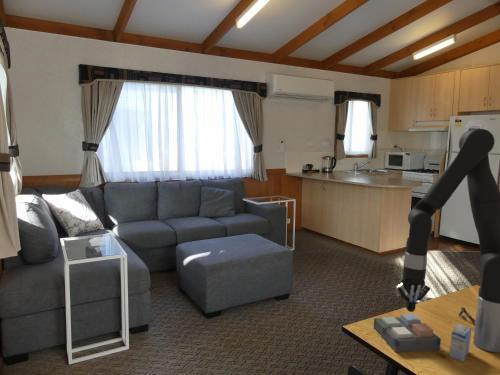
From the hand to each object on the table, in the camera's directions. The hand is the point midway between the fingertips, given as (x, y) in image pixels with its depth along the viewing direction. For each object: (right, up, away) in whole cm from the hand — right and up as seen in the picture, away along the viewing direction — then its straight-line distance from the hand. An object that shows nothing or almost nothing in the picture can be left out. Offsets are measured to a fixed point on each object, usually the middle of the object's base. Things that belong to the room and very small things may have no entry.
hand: (410, 310), depth 141 cm
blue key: (0, -5, 0) cm, 5 cm away
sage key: (-7, -5, -1) cm, 9 cm away
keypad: (-3, -9, -3) cm, 10 cm away
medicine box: (+11, -11, -12) cm, 20 cm away
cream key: (-6, -6, -8) cm, 12 cm away
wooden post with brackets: (+27, -8, +11) cm, 31 cm away
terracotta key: (+1, -6, -7) cm, 9 cm away
